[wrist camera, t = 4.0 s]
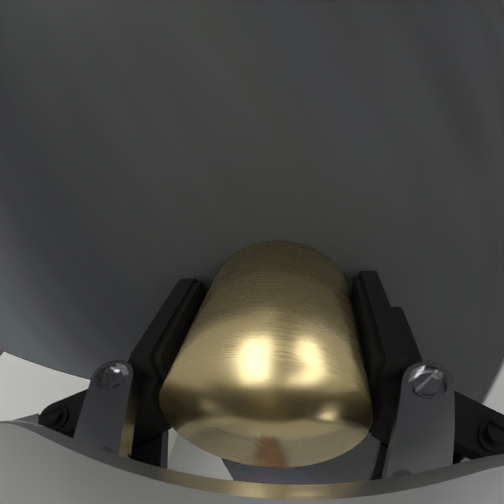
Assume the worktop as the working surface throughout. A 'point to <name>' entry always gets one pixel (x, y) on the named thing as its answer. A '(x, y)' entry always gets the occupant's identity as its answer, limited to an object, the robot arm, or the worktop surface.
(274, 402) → the cylinder
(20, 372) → the white open box
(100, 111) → the worktop surface
